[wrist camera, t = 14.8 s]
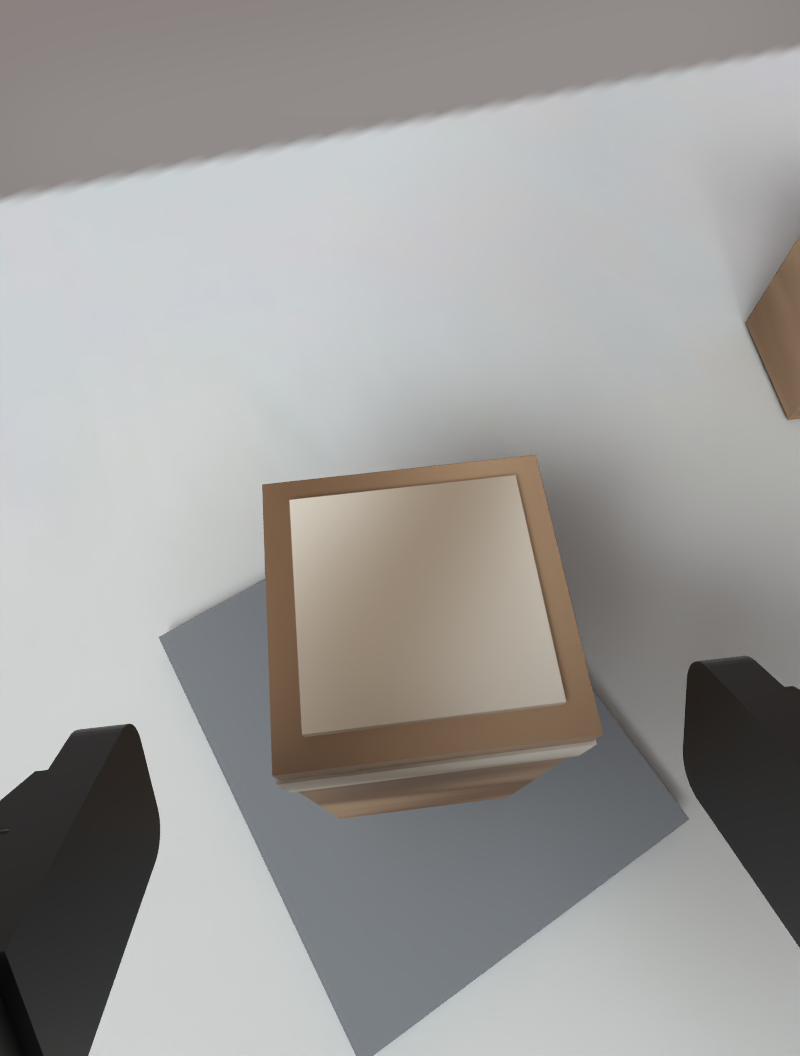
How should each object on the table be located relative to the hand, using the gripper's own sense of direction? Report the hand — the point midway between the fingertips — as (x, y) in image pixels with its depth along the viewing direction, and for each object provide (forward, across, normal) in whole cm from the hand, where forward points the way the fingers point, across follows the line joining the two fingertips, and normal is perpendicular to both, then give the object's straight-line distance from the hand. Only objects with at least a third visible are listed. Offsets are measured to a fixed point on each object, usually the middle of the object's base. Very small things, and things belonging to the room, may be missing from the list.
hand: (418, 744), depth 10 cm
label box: (+8, 0, +5) cm, 10 cm away
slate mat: (+8, 0, +6) cm, 10 cm away
